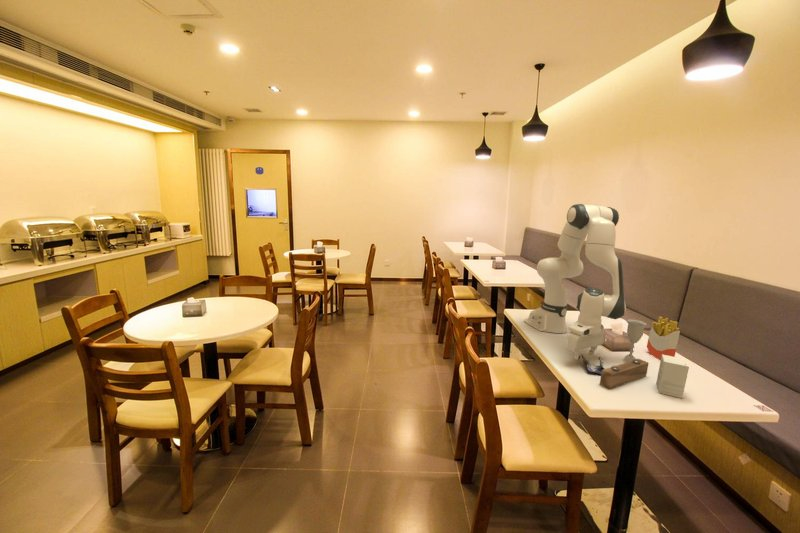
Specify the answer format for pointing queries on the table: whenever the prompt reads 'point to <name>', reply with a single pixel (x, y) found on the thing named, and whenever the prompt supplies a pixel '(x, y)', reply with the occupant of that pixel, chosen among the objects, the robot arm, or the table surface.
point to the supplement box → (672, 376)
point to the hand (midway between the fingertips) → (583, 356)
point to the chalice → (634, 336)
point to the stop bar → (623, 373)
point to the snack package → (597, 367)
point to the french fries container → (663, 338)
